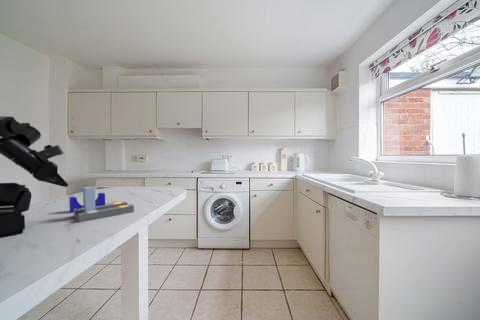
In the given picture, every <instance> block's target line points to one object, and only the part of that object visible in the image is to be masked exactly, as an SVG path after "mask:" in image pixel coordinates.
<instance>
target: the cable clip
mask: <svg viewBox="0 0 480 320" xmlns="http://www.w3.org/2000/svg"><path fill="white" fill-rule="evenodd" d="M97 193H98V194H97V198H95V206H101V205H106V193H104V192H97ZM68 199H69V200H68V201H69V202H68V203H69V212H70V213H72V214H74V210H75V209H81V208H84V207H83V205H82V204H81V203H79V202H78V200H77V197H76V196H69V197H68Z"/></svg>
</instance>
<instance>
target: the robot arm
mask: <svg viewBox="0 0 480 320" xmlns="http://www.w3.org/2000/svg"><path fill="white" fill-rule="evenodd" d="M41 137H42V134H41V132H40V131H39V129H37V127H34V126H31V124H30V123H29V122H21V123H20V122H19V121H17V120H16V118H15V117H13V116H5V115H4V116H2V115H1V116H0V155H2V157H4V158H7V159H8V160H9V161H11V162H12V163H14V164H15V165H16V166H19V167H20V168H22V169H23V170H25V171H26V172H28V173H29V174H30V175H32V177H33V179H36V180H37V181H38V182H42V183H43V182H44V183H48V184H52V185H56V186H60V187H64V188H67V187H68V186H69V184H68V182H67V181H66V180H65V179H64V178H63V177H62V176H61V175H60V174H59V172H58V165H57V164H56V163H55V162H54V161H50V160H49V159H51V158H53V157H56V156H61V155H63V154H64V152H63V150H62V148H61V147H60V145H59V144H56V145H54V146H53V145H51V144H48V145H45V146H43V149H42V150H39V151H37V150H36V149H32V148H30V146H32V145H33V144H35V142H38V141H39V139H41ZM31 201H32V192H31V191H30V189H29V188H28V187H26V184H19V183H17V182H0V238H3V237H9V236H14V235H19V234H23V233H24V230H25V229H26V219H25V214H23V213H25V212H28V211H29V209H30V206H31V205H30V204H31Z"/></svg>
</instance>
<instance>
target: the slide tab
mask: <svg viewBox="0 0 480 320" xmlns="http://www.w3.org/2000/svg"><path fill="white" fill-rule="evenodd" d="M82 197H83V198H82V199H83V200H82V201H83V207H84V212H87V211H93V210H96V209H95V200H96V187H95V186H85V187H83V186H82Z"/></svg>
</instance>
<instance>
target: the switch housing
mask: <svg viewBox="0 0 480 320" xmlns="http://www.w3.org/2000/svg"><path fill="white" fill-rule="evenodd" d="M95 209H96V210H93V211H87V212H84V208H81V209H76V208H75V209H74V213H73V217H74V218H75V219H76V220H77V222H79V223H84V222H90V221H93V220H100V219H104V218H110V217H114V216H119V215H124V214H129V213H134V212H135V205H133V204H128V202H126V201H118V202H117V201H116V202H112V203H108V204H105V205H101V206H95Z"/></svg>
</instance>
